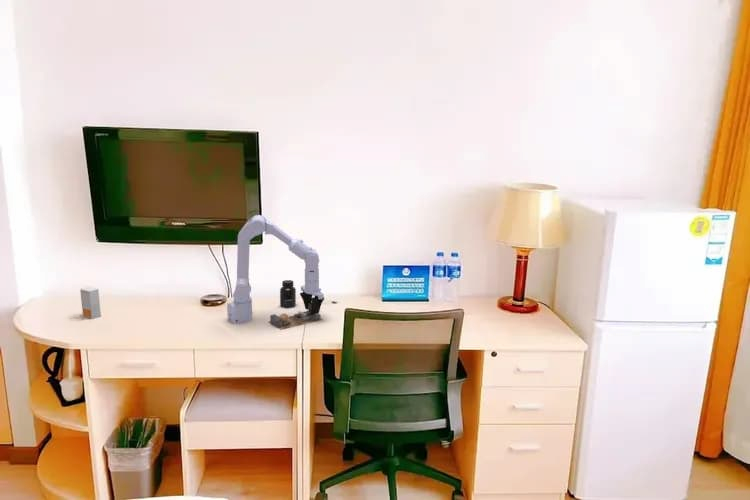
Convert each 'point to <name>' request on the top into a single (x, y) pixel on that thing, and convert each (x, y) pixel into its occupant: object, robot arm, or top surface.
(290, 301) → the supplement bottle
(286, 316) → the tan wooden ball
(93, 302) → the skincare box
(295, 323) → the bench
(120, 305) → the top surface
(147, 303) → the top surface
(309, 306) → the ram
